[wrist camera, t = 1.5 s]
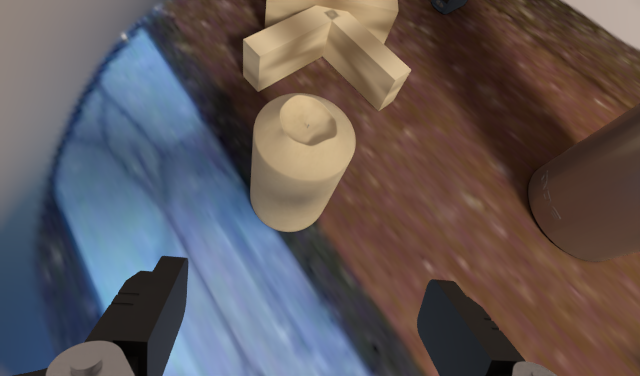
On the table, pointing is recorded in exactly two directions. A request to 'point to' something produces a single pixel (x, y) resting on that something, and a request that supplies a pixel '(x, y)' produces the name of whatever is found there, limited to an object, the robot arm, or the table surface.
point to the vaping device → (447, 5)
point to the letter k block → (328, 44)
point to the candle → (298, 159)
